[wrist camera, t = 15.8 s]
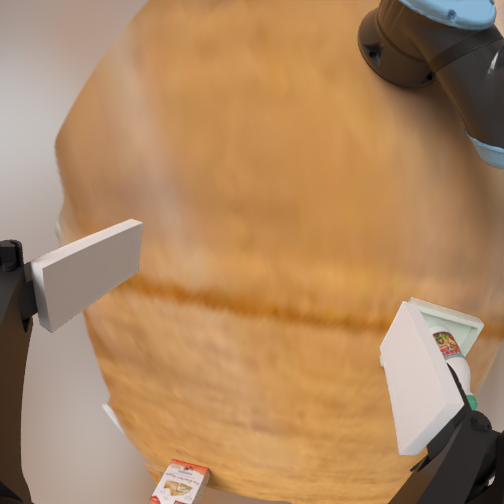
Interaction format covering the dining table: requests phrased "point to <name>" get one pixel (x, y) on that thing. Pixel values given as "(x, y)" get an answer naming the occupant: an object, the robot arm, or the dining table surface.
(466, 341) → the tray
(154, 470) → the dining table surface
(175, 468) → the cracker box
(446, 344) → the milk bottle
